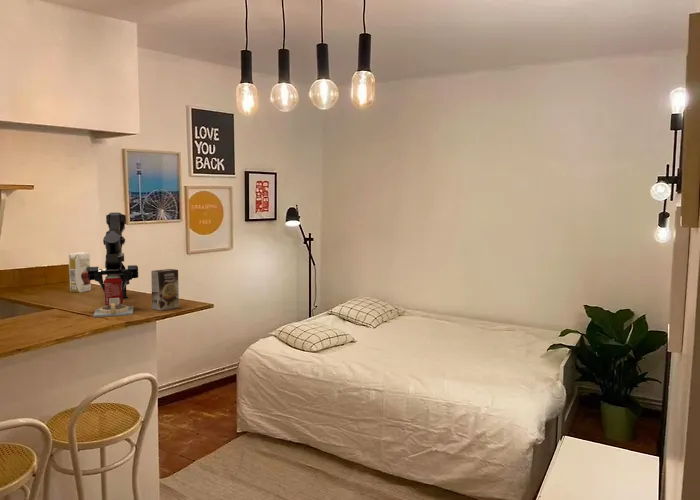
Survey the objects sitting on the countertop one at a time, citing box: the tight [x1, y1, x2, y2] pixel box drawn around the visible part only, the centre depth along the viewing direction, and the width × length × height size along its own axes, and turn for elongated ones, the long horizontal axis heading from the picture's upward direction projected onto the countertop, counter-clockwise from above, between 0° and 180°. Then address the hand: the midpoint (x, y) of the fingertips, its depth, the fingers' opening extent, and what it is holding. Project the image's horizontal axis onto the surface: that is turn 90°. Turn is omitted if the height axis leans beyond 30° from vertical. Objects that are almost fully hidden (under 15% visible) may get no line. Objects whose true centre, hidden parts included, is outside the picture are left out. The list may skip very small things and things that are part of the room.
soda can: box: [103, 275, 124, 307], centre depth 211 cm, size 7×7×12 cm
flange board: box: [92, 303, 134, 319], centre depth 211 cm, size 14×14×5 cm
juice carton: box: [68, 251, 92, 293], centre depth 258 cm, size 8×9×19 cm
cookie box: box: [150, 268, 180, 311], centre depth 220 cm, size 9×6×16 cm
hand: (113, 289), depth 210 cm, fingers closed on soda can, 7 cm apart
